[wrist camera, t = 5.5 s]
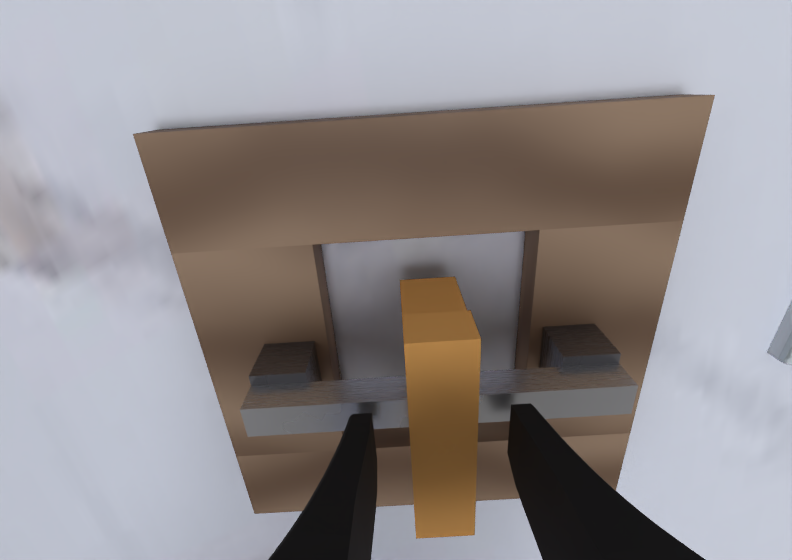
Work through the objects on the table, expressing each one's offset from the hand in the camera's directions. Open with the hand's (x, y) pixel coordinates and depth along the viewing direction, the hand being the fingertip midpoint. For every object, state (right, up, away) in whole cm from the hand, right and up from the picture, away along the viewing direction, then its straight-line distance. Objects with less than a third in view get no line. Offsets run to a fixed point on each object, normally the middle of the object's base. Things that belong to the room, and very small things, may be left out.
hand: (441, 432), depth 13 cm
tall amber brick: (0, +2, +4) cm, 4 cm away
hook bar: (0, +2, +4) cm, 4 cm away
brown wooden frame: (0, +2, +5) cm, 6 cm away
